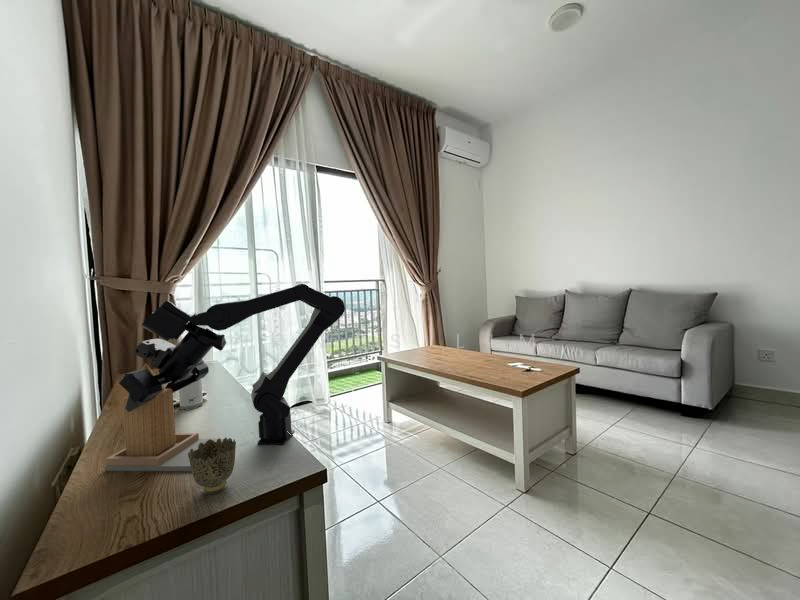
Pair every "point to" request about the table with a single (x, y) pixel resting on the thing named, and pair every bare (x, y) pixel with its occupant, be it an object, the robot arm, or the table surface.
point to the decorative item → (150, 425)
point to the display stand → (159, 457)
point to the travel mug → (191, 395)
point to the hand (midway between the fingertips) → (146, 402)
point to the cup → (213, 464)
